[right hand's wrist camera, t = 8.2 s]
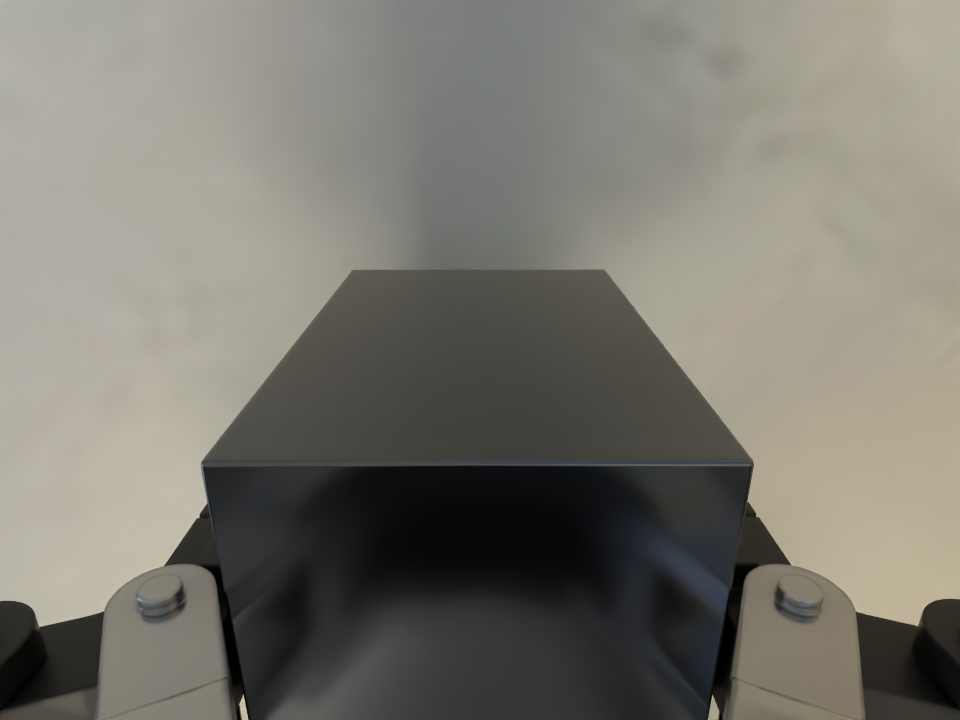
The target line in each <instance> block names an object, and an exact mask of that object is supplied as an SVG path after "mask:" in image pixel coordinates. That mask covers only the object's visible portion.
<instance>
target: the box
mask: <svg viewBox="0 0 960 720" xmlns="http://www.w3.org/2000/svg"><path fill="white" fill-rule="evenodd" d="M753 467H754V463H753V460H752V459H751V457H750V456H749V455H748V453H747V452H746V451H745V450H744V448H743V447H742V446H741V444H740V443H739V442H738V441H737V439H736V438H735V437H734V435H733V434H732V433H731V432H730V430H729V429H728V428H727V426H726V425H725V424H724V423H723V421H722V420H721V419H720V417H719V416H718V415H717V414H716V412H715V411H714V410H713V408H712V407H711V406H710V405H709V403H708V402H707V401H706V399H705V398H704V397H703V396H702V394H701V393H700V392H699V390H698V389H697V388H696V387H695V385H694V384H693V383H692V381H691V380H690V379H689V378H688V376H687V375H686V374H685V372H684V371H683V370H682V369H681V367H680V366H679V365H678V363H677V362H676V361H675V360H674V358H673V357H672V356H671V354H670V353H669V352H668V351H667V349H666V348H665V347H664V345H663V344H662V343H661V342H660V340H659V339H658V338H657V336H656V335H655V334H654V333H653V331H652V330H651V329H650V328H649V326H648V325H647V324H646V322H645V321H644V320H643V319H642V317H641V316H640V315H639V313H638V312H637V311H636V310H635V308H634V307H633V306H632V304H631V303H630V302H629V301H628V299H627V298H626V297H625V295H624V294H623V293H622V292H621V290H620V289H619V288H618V286H617V285H616V284H615V283H614V281H613V280H612V279H611V277H610V276H609V275H608V274H607V272H606V271H605V270H353V271H351V273H350V274H349V275H348V277H347V278H346V279H345V280H344V282H343V283H342V284H341V285H340V287H339V288H338V289H337V290H336V292H335V293H334V294H333V296H332V297H331V298H330V299H329V301H328V302H327V303H326V304H325V306H324V307H323V308H322V309H321V311H320V312H319V313H318V315H317V316H316V317H315V318H314V320H313V321H312V322H311V323H310V325H309V326H308V327H307V328H306V330H305V331H304V332H303V334H302V335H301V336H300V337H299V339H298V340H297V341H296V342H295V344H294V345H293V346H292V347H291V349H290V350H289V351H288V353H287V354H286V355H285V356H284V358H283V359H282V360H281V361H280V363H279V364H278V365H277V366H276V368H275V369H274V370H273V372H272V373H271V374H270V375H269V377H268V378H267V379H266V380H265V382H264V383H263V384H262V385H261V387H260V388H259V389H258V391H257V392H256V393H255V394H254V396H253V397H252V398H251V399H250V401H249V402H248V403H247V404H246V406H245V407H244V408H243V410H242V411H241V412H240V413H239V415H238V416H237V417H236V418H235V420H234V421H233V422H232V423H231V425H230V426H229V427H228V429H227V430H226V431H225V432H224V434H223V435H222V436H221V437H220V439H219V440H218V441H217V442H216V444H215V445H214V446H213V448H212V449H211V450H210V451H209V453H208V454H207V455H206V456H205V458H204V459H203V460H202V462H201V470H202V475H203V481H204V486H205V491H206V497H207V502H208V507H209V512H210V518H211V523H212V528H213V534H214V539H215V544H216V550H217V555H218V560H219V566H220V571H221V576H222V581H223V587H224V592H225V597H226V603H227V608H228V613H229V619H230V624H231V629H232V634H233V640H234V645H235V650H236V656H237V661H238V666H239V672H240V677H241V682H242V688H243V693H244V698H245V703H246V709H247V714H248V719H249V720H708V715H709V710H710V704H711V699H712V693H713V688H714V682H715V676H716V671H717V665H718V660H719V654H720V649H721V643H722V638H723V632H724V627H725V621H726V616H727V610H728V605H729V599H730V594H731V588H732V583H733V577H734V572H735V566H736V561H737V555H738V549H739V544H740V538H741V533H742V527H743V522H744V516H745V511H746V505H747V500H748V494H749V489H750V483H751V478H752V472H753Z"/></svg>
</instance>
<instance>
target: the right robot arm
mask: <svg viewBox="0 0 960 720" xmlns="http://www.w3.org/2000/svg"><path fill="white" fill-rule="evenodd" d="M243 694H244V693H243V688H242V682H241V677H240V672H239V666H238V661H237V656H236V650H235V645H234V640H233V634H232V629H231V624H230V619H229V613H228V608H227V603H226V597H225V592H224V587H223V581H222V576H221V571H220V566H219V560H218V555H217V550H216V544H215V539H214V534H213V528H212V523H211V518H210V512H209V507H208V503H207V505H206V506H205V508H204V509H203V510H202V512H201V513H200V518H197V519H196V521H195V522H194V524H193V525H192V526H191V528H190V529H189V531H188V532H187V534H186V535H185V537H184V538H183V540H182V541H181V542H180V544H179V545H178V547H177V548H176V550H175V551H174V553H173V554H172V555H171V557H170V558H169V560H168V561H167V563H166V564H165V566H164V567H160V568H157V569H153V570H151V571H148V572H146V573H143V574H141V575H139V576H138V577H136V578H134V579H132V580H131V581H129V582H128V583H126V584H125V585H124V586H122V587H121V588H120V589H119V590H118V591H117V592H116V593H115V594H114V595H113V596H112V597H111V599H110V600H109V601H108V603H107V605H106V608H105V611H104V612H101V613H98V614H95V615H91V616H87V617H83V618H78V619H74V620H69V621H65V622H61V623H56V624H52V625H47V626H43V627H39V625H38V622H37V619H36V616H35V613H34V611H33V610H32V608H30V607H29V606H28V605H26V604H24V603H21V602H16V601H0V720H242V716H241V711H240V706H239V704H240V701H241V699H242V696H243ZM712 694H713V696H714V699H715V701H716V704H717V706H718V709H719V716H718V720H960V600H959V599H942V600H937V601H934V602H932V603H930V604H928V605H927V606H926V607H925V609H924V611H923V613H922V616H921V619H920V622H919V625H918V626H914V625H910V624H905V623H901V622H896V621H892V620H887V619H883V618H879V617H874V616H870V615H866V614H862V613H858V612H856V611H855V608H854V605H853V603H852V601H851V600H850V599H849V597H848V596H847V595H846V594H845V593H844V592H843V591H842V590H841V589H840V588H839V587H838V586H836V585H835V584H834V583H832V582H831V581H829V580H828V579H826V578H824V577H822V576H821V575H819V574H817V573H814V572H812V571H809V570H807V569H803V568H800V567H796V566H791V564H790V563H789V561H788V560H787V558H786V557H785V555H784V554H783V552H782V551H781V549H780V548H779V546H778V545H777V543H776V542H775V541H774V539H773V538H772V536H771V535H770V533H769V532H768V530H767V529H766V527H765V526H764V524H763V523H762V521H761V520H760V518H759V517H756V513H755V511H754V510H753V508H752V507H751V505H750V504H749V502H747V505H746V511H745V516H744V522H743V527H742V533H741V538H740V544H739V549H738V555H737V561H736V566H735V572H734V577H733V583H732V588H731V594H730V599H729V605H728V610H727V616H726V621H725V627H724V632H723V638H722V643H721V649H720V654H719V660H718V665H717V671H716V676H715V682H714V688H713V693H712Z"/></svg>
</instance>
